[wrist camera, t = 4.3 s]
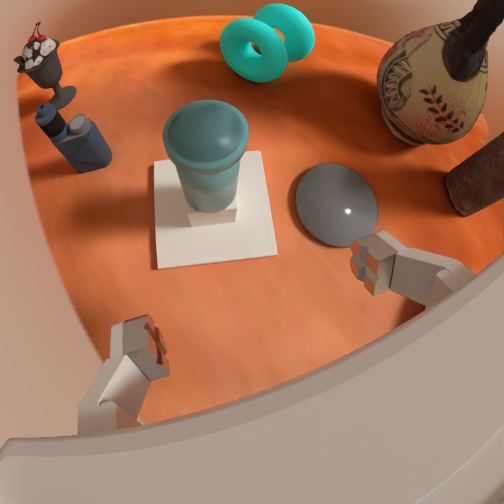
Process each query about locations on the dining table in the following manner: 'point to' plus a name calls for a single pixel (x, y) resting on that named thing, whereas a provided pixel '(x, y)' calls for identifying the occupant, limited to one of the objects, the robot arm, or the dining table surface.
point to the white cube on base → (213, 220)
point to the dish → (336, 205)
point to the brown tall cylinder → (478, 179)
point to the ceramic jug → (438, 77)
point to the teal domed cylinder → (207, 152)
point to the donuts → (266, 42)
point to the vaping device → (75, 139)
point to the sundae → (45, 68)
